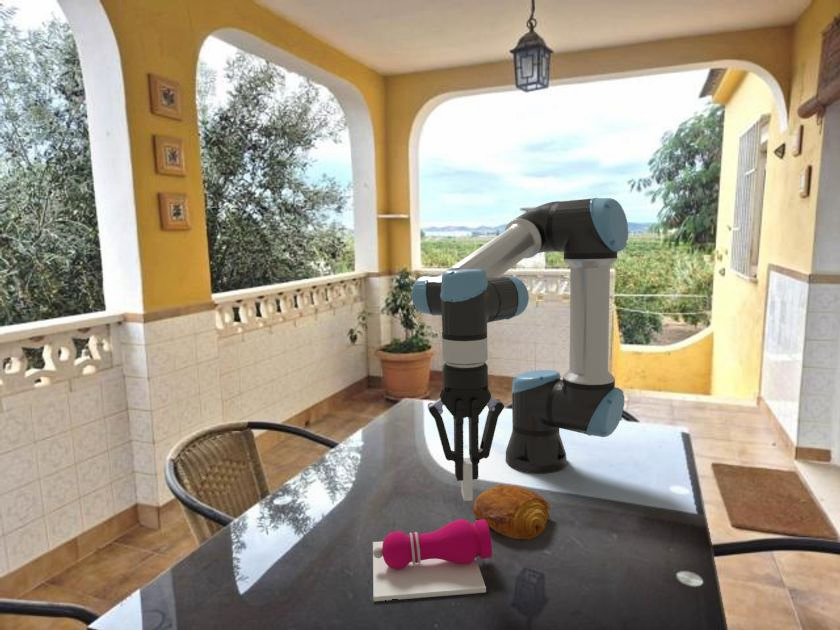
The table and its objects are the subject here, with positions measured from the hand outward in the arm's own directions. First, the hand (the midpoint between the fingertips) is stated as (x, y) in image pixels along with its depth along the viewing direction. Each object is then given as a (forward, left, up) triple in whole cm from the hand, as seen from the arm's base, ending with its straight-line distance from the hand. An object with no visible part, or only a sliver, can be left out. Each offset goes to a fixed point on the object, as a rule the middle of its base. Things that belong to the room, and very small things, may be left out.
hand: (466, 496), depth 93 cm
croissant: (-12, -13, -13) cm, 22 cm away
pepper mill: (-4, 0, -8) cm, 9 cm away
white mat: (+8, 0, -12) cm, 14 cm away
